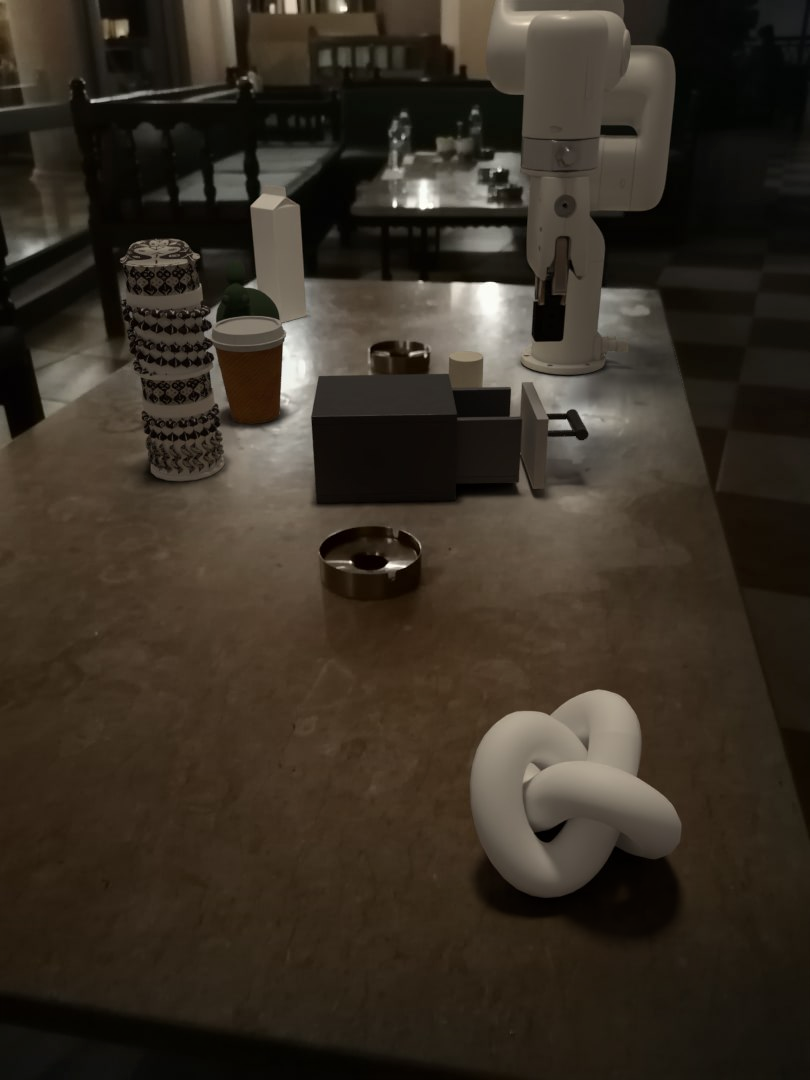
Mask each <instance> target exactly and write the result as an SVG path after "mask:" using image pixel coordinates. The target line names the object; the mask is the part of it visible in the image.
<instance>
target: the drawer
mask: <svg viewBox="0 0 810 1080" xmlns="http://www.w3.org/2000/svg"><path fill="white" fill-rule="evenodd" d="M452 391H453V396H454V401H455V406H456V411H457V455H456V485H458V484H460V485H463V484H469V485H470V484H513V483H514V484H518V483H520V471H521V470H520V468H521V459H522V461H523V463H524V467H525V470H526V473H527V476H528V478H529V482H530V484H531V487H532V489H533V490H534V489H535V490H537V489H545V481H546V480H545V479H546V478H545V477H546V467H547V466H546V465H547V451H548V450H547V449H548V439H549V438H574V437H575V439H576V440H578V441H580V442H582V441H586V440H587V439H588V437H589V430H588V429H587V427H586V426H585V425H586V424H585V423H584V421H583V419H582V418H581V416H580V414H579V412H578V411H577V410H576V409H574V408H570V409H568V410H567V411H566V412H562V413H561V412H556V413H555V412H554V413H550V412H549V413H547V412H546V409H545V407H544V405H543V403H542V401H541V398H540V396H539V394H538V392H537V389H536V387H535V385H534V383H533V381H521V391H520V393H521V394H520V407H519V408H520V412H519V416H511V404H512V403H511V402H512V401H511V400H512V388H511V386H486V387H485V386H482V387H474V388H452ZM565 420H566V421H567V423H568V425H569V427H570V429H552V430H551V429H549V425H550V421H565Z"/></svg>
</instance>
